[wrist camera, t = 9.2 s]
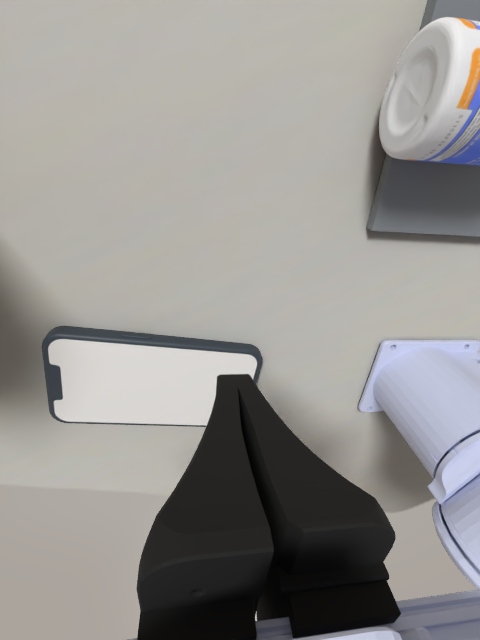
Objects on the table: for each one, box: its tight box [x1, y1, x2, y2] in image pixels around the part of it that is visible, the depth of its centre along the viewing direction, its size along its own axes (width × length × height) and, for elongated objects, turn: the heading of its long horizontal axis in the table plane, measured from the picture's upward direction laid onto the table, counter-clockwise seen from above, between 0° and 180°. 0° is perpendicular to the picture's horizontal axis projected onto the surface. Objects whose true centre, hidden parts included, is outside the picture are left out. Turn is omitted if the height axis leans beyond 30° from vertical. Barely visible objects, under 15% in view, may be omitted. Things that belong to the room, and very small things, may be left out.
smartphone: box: [42, 326, 262, 427], centre depth 25 cm, size 9×2×16 cm
